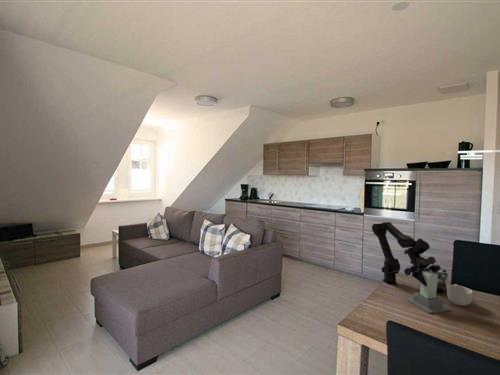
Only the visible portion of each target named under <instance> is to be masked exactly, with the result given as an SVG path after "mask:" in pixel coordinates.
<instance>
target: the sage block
mask: <svg viewBox="0 0 500 375" xmlns="http://www.w3.org/2000/svg"><path fill="white" fill-rule="evenodd" d="M422 276H423V277H424V279H425V281H426V283H427V286H425V285H423V284H422V283H421V285H420V287H419V290H420V291H419V292H420V295H422V296H423V297H425V298H426V299H436V296H437V290H438V289H437V280H438V274H435V273H433V272H431V271H422Z"/></svg>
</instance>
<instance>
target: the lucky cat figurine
mask: <svg viewBox="0 0 500 375" xmlns="http://www.w3.org/2000/svg"><path fill="white" fill-rule="evenodd" d="M435 274H438V280H437V290H440V291H443V292H447V284H446V281H447V280H448V279H447V278H448V275H449V274H448V272H447V270H446V269H441V270H439V271H438V272H436V273H435ZM419 282H420V281H419ZM418 285H420V286H421V282H420V283H418Z"/></svg>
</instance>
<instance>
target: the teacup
mask: <svg viewBox="0 0 500 375" xmlns="http://www.w3.org/2000/svg"><path fill="white" fill-rule="evenodd" d="M446 294H447V298H448V300H449V301H450V302H451V303H452V304H454V305H456V306H462V307H465V306H466V307H467V306H468V305H470V304H471V303H472V301H473V290H472V289H470V288H468V287H466V286H463V285H458V284H456V283H455V284H451V285H450V284H448V285H446Z"/></svg>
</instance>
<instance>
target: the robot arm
mask: <svg viewBox="0 0 500 375" xmlns="http://www.w3.org/2000/svg"><path fill="white" fill-rule="evenodd" d="M371 230H372V232H373V234H374V235H375V236H376V237H377V239H378V242H379V244H380V248H381V251H382V253H383V257H384V261H383V265H384V266H382V267H381V272H382V273H383V278H382V279H381V281H382V282H384V281H385V282H384V283H386V284H387V285H394V284H398V282H397V276H396V274H397V275H398V274H399V272H400V270H401V264H400V261H399V259H398V258H395V257H394V255H393V252H392V249H391V247H390V244H389V241H388V238H387V232H388V233H389V234H390V235H391V236H393V238H395V239H396V241H397V243H398V245H399V246H400V247H401V248H402V249H404V252H403V255H407V256H408V258H409V259H410V261H409V263H410V264H411V266H408V267H406V268H405V269H404V274H405V276H411V277H412V278H415V280H417V281H419V282H421V283H422V284H423V285H425V286H427V283H426V281H425V279H424V277H423V276H422V271H431V272H433V273H436V272H438V271H439V270H442V268H441V267H440V264H435V263H437V260H436V258H435V257H434V256H429V257H428V258H425V257H423V256H422V255H423V254H424V253H426V252H427V251H428V250H429V249H430V247H431V246H430V244H429V243H428V242H427V241H425V240H423V238H418V239H417V240H415V239H414V238H413V237H411V236H409V235H407V234H405V233H403V232H402V231H400V230H399V229H398V228H397V227H396V226H395V225H393V223H392V222H390V221H385V222H384V221H383V222H381V223H373V224H372V226H371Z"/></svg>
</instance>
